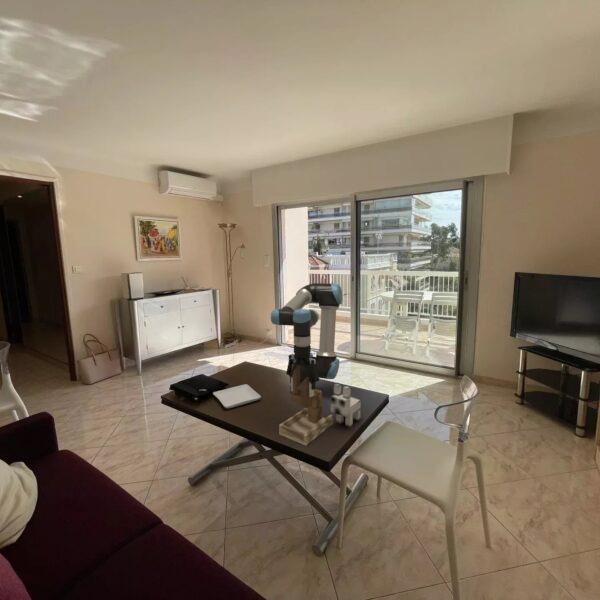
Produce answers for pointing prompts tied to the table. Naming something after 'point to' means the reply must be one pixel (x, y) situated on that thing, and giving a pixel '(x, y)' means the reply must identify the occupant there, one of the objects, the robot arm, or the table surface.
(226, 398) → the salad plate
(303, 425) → the tray
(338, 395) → the toy llama
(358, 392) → the table surface
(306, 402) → the brown wooden figure
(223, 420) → the table surface
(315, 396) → the tall brown block
